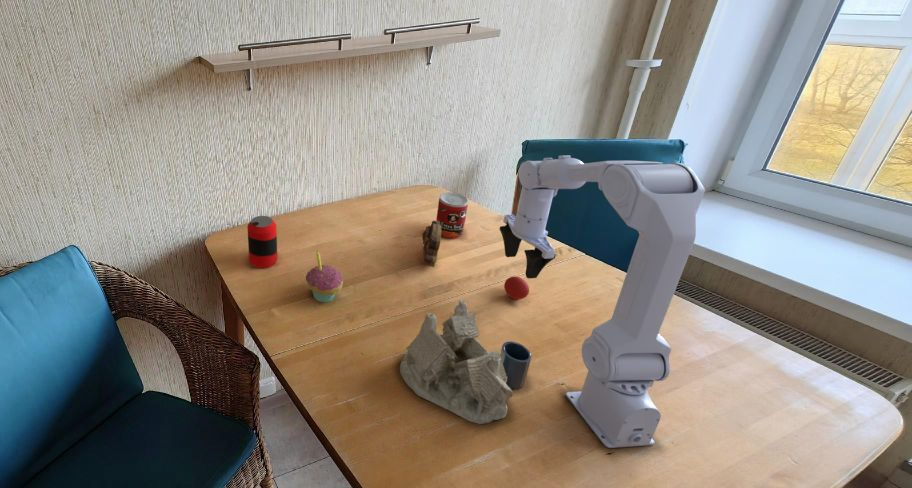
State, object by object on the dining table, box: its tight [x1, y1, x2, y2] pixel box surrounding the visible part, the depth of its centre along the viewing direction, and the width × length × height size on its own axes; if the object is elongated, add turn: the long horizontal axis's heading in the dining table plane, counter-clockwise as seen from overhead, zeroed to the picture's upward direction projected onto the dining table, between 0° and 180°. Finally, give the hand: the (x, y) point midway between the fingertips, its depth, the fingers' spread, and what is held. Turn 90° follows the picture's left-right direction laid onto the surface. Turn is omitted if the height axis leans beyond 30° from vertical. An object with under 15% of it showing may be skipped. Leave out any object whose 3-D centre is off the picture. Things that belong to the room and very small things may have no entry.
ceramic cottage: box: [399, 300, 514, 425], centre depth 75 cm, size 16×16×15 cm
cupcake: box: [305, 250, 344, 303], centre depth 99 cm, size 9×8×12 cm
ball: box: [503, 275, 530, 300], centre depth 98 cm, size 5×5×5 cm
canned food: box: [435, 191, 469, 239], centre depth 123 cm, size 8×8×11 cm
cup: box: [499, 340, 532, 390], centre depth 78 cm, size 5×5×6 cm
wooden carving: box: [421, 220, 442, 268], centre depth 112 cm, size 16×5×10 cm, turn 165°
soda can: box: [246, 215, 278, 269], centre depth 112 cm, size 8×8×12 cm
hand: (520, 266), depth 96 cm, fingers open, 7 cm apart
